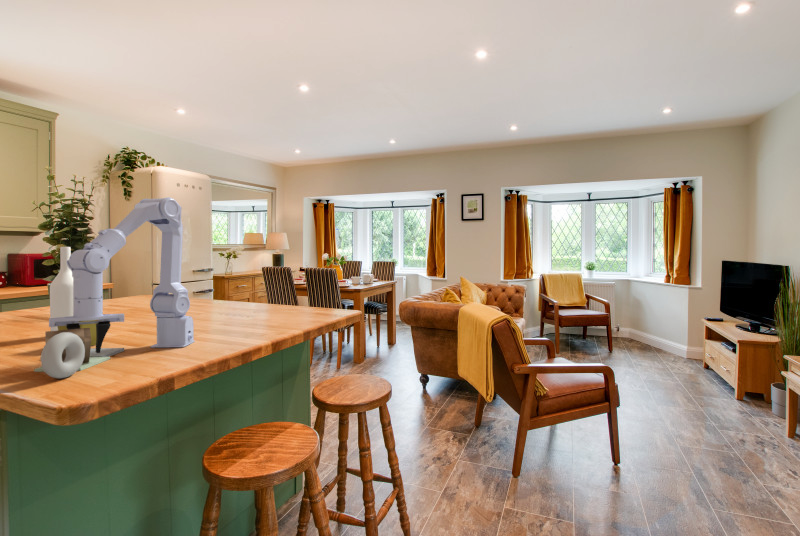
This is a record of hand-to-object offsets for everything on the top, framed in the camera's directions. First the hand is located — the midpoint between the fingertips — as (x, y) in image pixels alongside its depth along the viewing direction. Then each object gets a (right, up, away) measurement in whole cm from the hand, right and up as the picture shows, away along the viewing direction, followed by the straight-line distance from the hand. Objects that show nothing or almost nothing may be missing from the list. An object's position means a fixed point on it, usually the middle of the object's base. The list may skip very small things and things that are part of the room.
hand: (88, 353), depth 99 cm
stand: (-9, -3, +10) cm, 13 cm away
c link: (-1, +1, -5) cm, 5 cm away
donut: (+3, -3, -11) cm, 11 cm away
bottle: (-33, -2, +33) cm, 47 cm away
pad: (-3, -3, 0) cm, 4 cm away
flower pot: (-18, -3, +21) cm, 27 cm away
